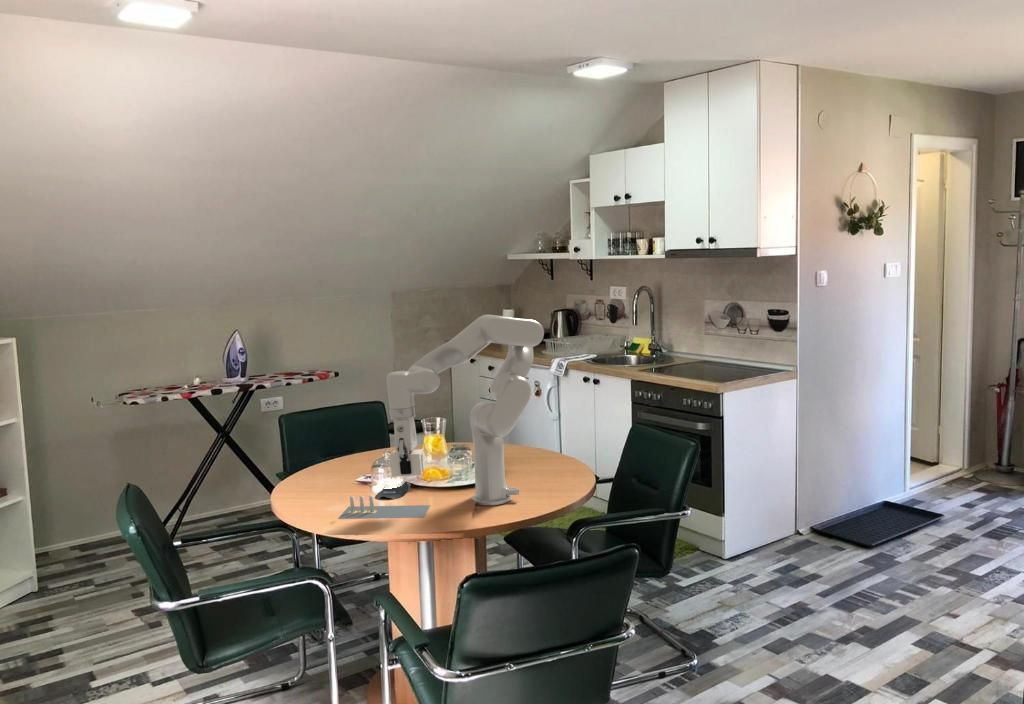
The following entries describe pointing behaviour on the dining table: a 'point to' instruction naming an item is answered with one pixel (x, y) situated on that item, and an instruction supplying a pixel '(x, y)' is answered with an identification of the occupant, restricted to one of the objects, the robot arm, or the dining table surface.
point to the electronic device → (394, 492)
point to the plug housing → (414, 458)
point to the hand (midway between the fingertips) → (408, 470)
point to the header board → (382, 510)
